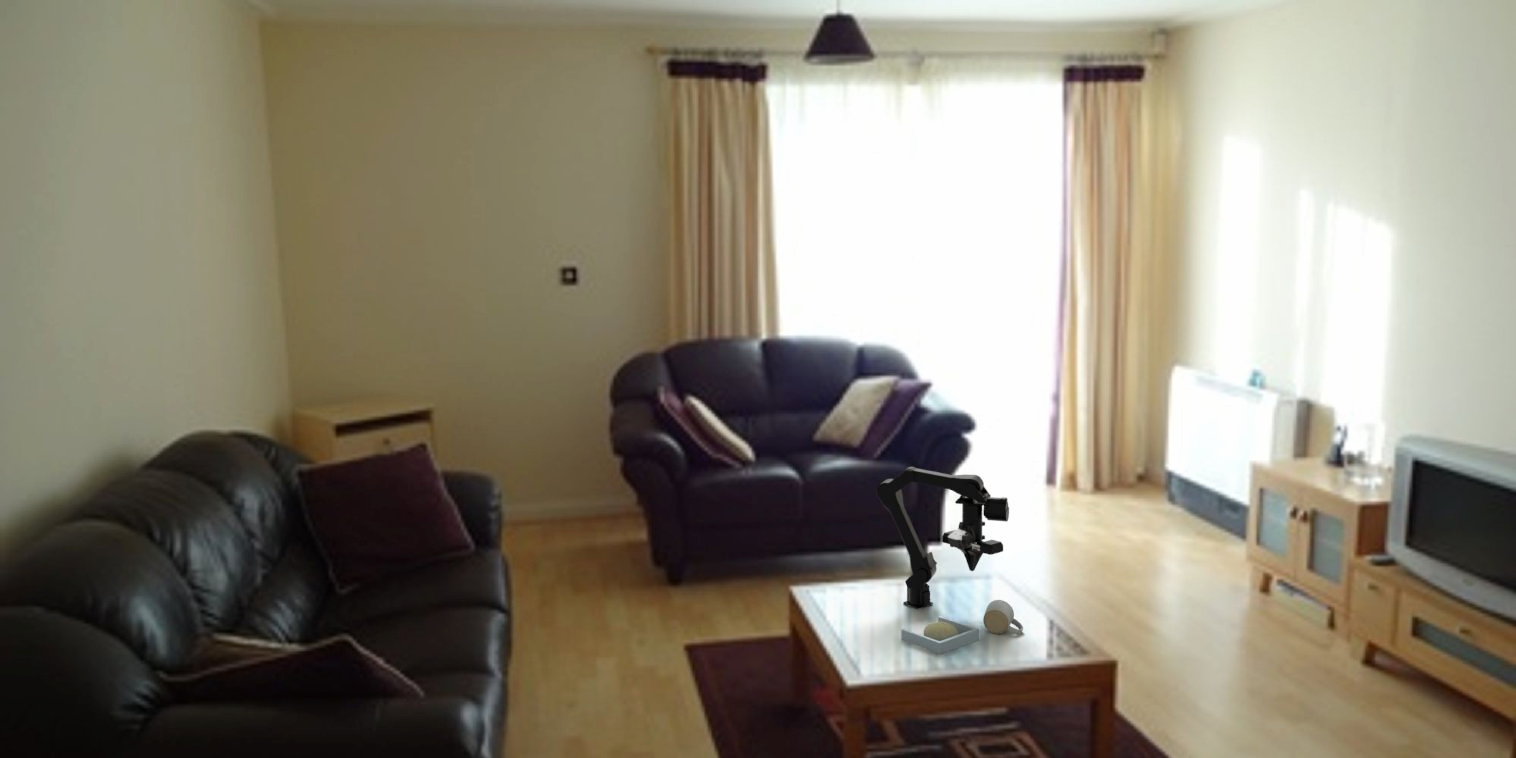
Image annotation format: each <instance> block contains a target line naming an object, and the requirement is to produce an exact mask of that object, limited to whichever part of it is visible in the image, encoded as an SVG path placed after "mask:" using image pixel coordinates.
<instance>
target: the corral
mask: <svg viewBox="0 0 1516 758" xmlns="http://www.w3.org/2000/svg"><path fill="white" fill-rule="evenodd" d="M937 619H938V620H937V622H945V623H948V624H951V625H953V626H954V627H955V628H956V629H957V631H958V635H956V636H953V637H950V638H948V639H945V640H942V641H937V640H934V639H932V638H929V637H926V636H924V634H920V633H917V632H915V631H913V630H909V629H906V628H901V629H900V637H901V638H900V639H901V641H903V642H906V643H908V644H911V645H914V646H917V647H919V648H922V649H925V650H927V651H930V652H933V653H935V654H939V655H941V654H944V653H947V652H951V651H952V650H955V649H959V648H960V647H963V646H967V645H968V644H972V643H975V642H977V641H980V636H981V635H980V634H981V632H980V628H977V627H975V626H971V625H969V624H965V623H964V622H959V621H957V620H954V619H950V618H948V617H945V616H942V615H940V616H938V618H937Z"/></svg>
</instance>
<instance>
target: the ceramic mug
mask: <svg viewBox="0 0 1516 758" xmlns="http://www.w3.org/2000/svg"><path fill="white" fill-rule="evenodd" d="M1014 617H1015V613H1014V609H1013V607H1012V606H1011V604H1009V603H1008V602H1007V601H1005V600H1002V599H994V600H992V601H991V602H990V603H988V604H987V607H986V610H985V612H984V614H983V617H982V618H983V619H982V621H983V625H984V627H985V628H986V630H987V631H988V632H989V633H991V634H995V635H1000V634H1003V633H1005V632H1006V631H1008V632H1009V633H1011V634H1015V635H1021V633H1022V632H1023V630H1024V626H1023V624H1022V623H1021V622H1019V620H1017V619H1016V618H1014ZM1011 624H1012V625H1013V626H1015V627H1016V628H1015V627H1012V626H1011Z"/></svg>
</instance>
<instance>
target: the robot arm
mask: <svg viewBox="0 0 1516 758" xmlns="http://www.w3.org/2000/svg"><path fill="white" fill-rule="evenodd" d="M910 483H915V484H919V485H925V486H926V485H927V486H931V487H936V488H941V489H947V490H949V491H952V492H954V493H955V494H958V495H960V496H959V497H958V498H956V500H955V502H954V504H955V505H957V504H958V505H959V504H960V505H962V508H961V509H962V510H961V512H962V515H961V518H962V519H961V520H962V521H960V522H959V524H958V528H957V529H954V530H953V529H952V530H950V531H947V532H943V534H942V536H941V542H942V543H943V544H948V545H949V547H950V548H956V549H958V550H959V551H960V552H961V553H962V554H963V556H964V557H965V560H966V563H967V566H968V569H969V571H970V572H974V571H975V569H976V567H977V565H978V563H979V561H980V559H981V558H982V556H983V555H984V554H986V555H995V554H998V553H1002V552H1004V544H1003V543H1002V541H999V540H995V539H989V540H986V535H983V526H986V522H985V521H983V517H984V518H985V519H986V520H987V521H993V522H994V521H995V522H1008V521H1009V518H1010V517H1009V515H1010V506H1009V502H1008V498H1007V497H1003V496H1002V497H992V496H991V494H990V492H988V490H987V488H986V487H985V485H984V481H983V479H982V478H981V477H980V475H977V474H953V475H952V474H948V473H944V472H938V471H933V470H926V469H924V468H923V469H922V468H916V467H915V466H908V467H907V468H906V469H905V470H903V472H901V473H900V474H898V475H897V476H895V477H894V478H887V479H885V480H884V481H883V482H881V483H880V484H879V485H878V486H877V488H876V496H877V498H878V499H879V501H880V502H881V504H882V505H883V506H884V508H886V510H888V512H889V513H890V515H891V518H892V520H893V522H894V524H895V525H896V528H897V530H898V532H899V535H900V537H901V539H902V542H903V544H904V546H905V548H906V551H907V552H908V555H909V562H910V569H911V573H910V575H909V576H908V577H907V579H906V580H905V585H906V601H903V602H902V603H903V605H906V606H908V605H909V607H912V608H915V609H917V610H918V609H919V610H920V609H924V608H926V607H929V606H932V605H933V604H934V603H933V602H932V601H931V590H930V585H929V584H928V582H930V580H931V579H932V578H933V577H934V575H935V574H936V572H937V564H938V562H937V561H936V560H935V558H934V555H933V552H932V551H930V552H927V551H926V550H925V549H924V548H923V546H922V543H921V541H920V539H919V536H918V535H917V534H918V533H916V530H915V528H914V526H913V524H912V520H911V519H910V517H909V514H908V513H907V510H906V508H905V506H904V505H905V504H904V496H903V491H902V489H903V488H904V487H906V486H907V485H909V484H910ZM984 540H986V541H984Z"/></svg>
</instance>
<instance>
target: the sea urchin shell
mask: <svg viewBox="0 0 1516 758" xmlns="http://www.w3.org/2000/svg"><path fill="white" fill-rule="evenodd" d="M956 635H959V634H958V631H957V629H956V628H955V627H954V626H953V625H951V624H948V623H945V622H938V621H933V622H930V623H928V624H927V625H926V626H925V627H924V629H923V636H926V637H929V638H932V639H934V640H937V641H942V640H945V639H948V638H950V637H953V636H956Z"/></svg>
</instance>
